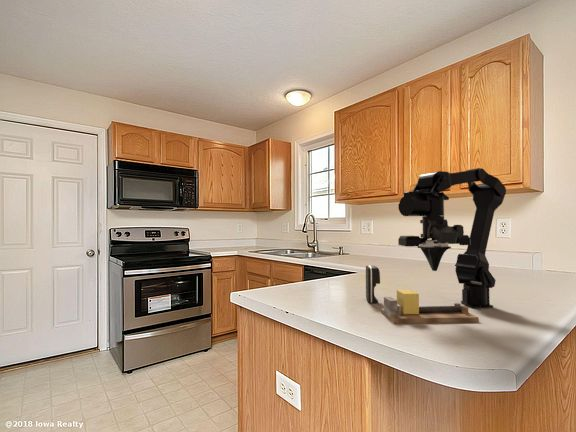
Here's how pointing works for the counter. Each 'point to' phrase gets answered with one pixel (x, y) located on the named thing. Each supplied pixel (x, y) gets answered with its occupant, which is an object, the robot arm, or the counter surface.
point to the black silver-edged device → (371, 282)
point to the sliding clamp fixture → (427, 313)
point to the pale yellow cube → (408, 301)
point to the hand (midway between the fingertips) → (434, 270)
